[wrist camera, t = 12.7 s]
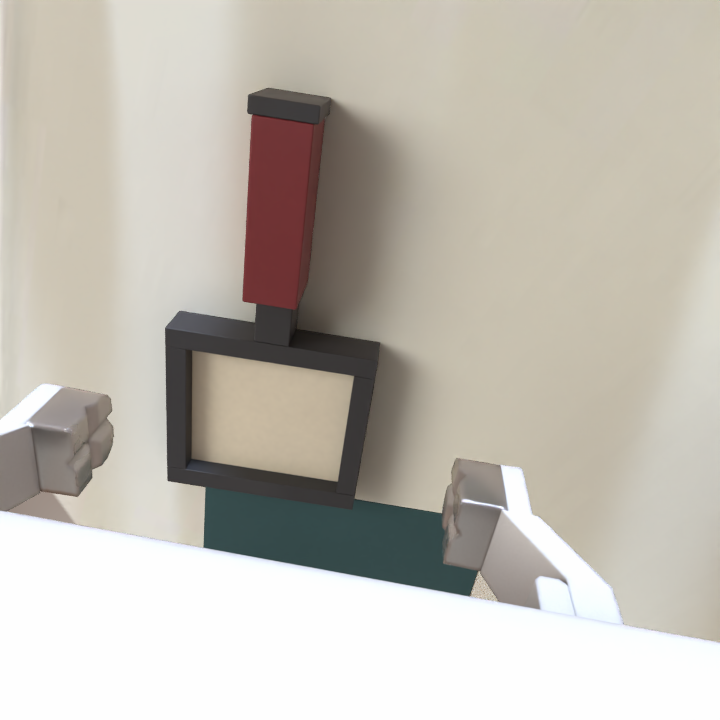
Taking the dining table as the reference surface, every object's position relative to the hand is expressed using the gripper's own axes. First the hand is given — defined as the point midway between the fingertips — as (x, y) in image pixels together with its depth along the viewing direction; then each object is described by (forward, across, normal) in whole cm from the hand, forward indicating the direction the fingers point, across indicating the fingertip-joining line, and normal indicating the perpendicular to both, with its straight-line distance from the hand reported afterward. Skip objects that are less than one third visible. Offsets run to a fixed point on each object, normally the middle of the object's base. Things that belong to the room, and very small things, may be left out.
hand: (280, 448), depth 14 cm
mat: (+21, -2, +27) cm, 34 cm away
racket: (+21, +4, +6) cm, 22 cm away
